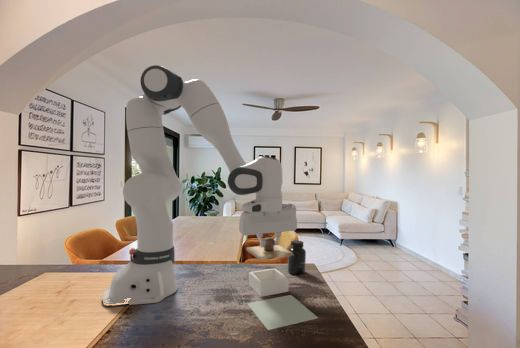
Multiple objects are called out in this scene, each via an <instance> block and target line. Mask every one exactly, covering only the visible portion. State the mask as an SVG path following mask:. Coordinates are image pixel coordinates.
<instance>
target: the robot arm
mask: <svg viewBox="0 0 520 348" xmlns="http://www.w3.org/2000/svg"><path fill="white" fill-rule="evenodd" d="M139 82H140V87H141V90H142V92H143V95H141V96H136V97H133V98H131V99H130V100H129V101H127V103H126V109H125V121H126V122H125V124H126V131H127V137H128V142H129V149H130V155H131V157H132V159H133V160H134V161H135V162H136V164H137V166H138V167H139V168H140V171H141V173H139V174H135V175H134V176H132V177H129V178H128V179H127V180H126V181H125V183H124V184H123V187H122V195H123V198H124V201H125V202H126V203H127V205H129V206H130V207H131V210H132V212H133V215H134V218H135V223H136V232H137V233H136V234H137V235H136V236H137V238H136V240H137V242H136V245H137V246H136V248H135V247H131V248H130V249H129V253H128V254H129V255H130V257H129V259H130V261H129V262H128V263H127V264H125V265H124V266H123V267H121V268H120V269H119V270H118V271H116V273H115V274H114V275H113V277H112V279H111V282H110V286H109V287H107V288H106V289H105V290H104V292H103V294H102V295H101V300H102V299H103V301H104V300H105V299H107V300H108V299H110V300H108V301H104V303H106V304H116V303H124V302H125V300H124V299H127V298H131V299H130V300H129V301H128V303H129V305H128V306H134V305H143V304H154V303H155V304H156V303H160V302H162V301H163V300H164V299H166V297H169V296H171V295H173V294H174V293H176V292H177V291H178V289H179V285H178V283H177V278H176V273H175V264H174V263H175V260H176V254H175V253H176V249H175V246H174V223H173V221H172V220H171V218H170V216H169V212H168V209H167V204H169V203H171V202H174V201H175V200H176V199H177V198H178V197H179V196H180V195H181V193H182V189H183V184H182V181H181V180H180V178H179V177H178V176H177V174H176V171H175V169H174V166H173V163H172V161H171V158H170V155H169V152H168V147H167V141H166V138H165V131H164V126H163V118H162V116H163V115H165V116H166V115H167V114H170V113H172V112H174V111H175V112H176V111H177V110H179V109H181V108H183V109H184V110H185V112H186V114H187V116H188V118H189V119H190V121H191V124H192V125H193V127H194V128H195V129H196V131H197V132H198V133H199V134H200V135H201V137H202V138H204V139H205V140H206V141H207V142H208V143H210V144H211V145H212V146H213V147H214V148H215V149H216V150H217V151H218V153H219V154H220V156H221V158H222V160H223V161H224V163H225V165H226V167H227V168H228V171H229V174H228V176H227V184H228V188H229V189H230V191H231V192H232V193H234V194H236V195H238V196H247V195H250V194H255V199H252V200H251V201H247V202H245V203H242V205H241V209H242V210H243V211H242V212H241V213H240V216H239V223H238V224H239V226H238V227H239V228H238V231H239V233H240V234H241V235H243V236H255V235H256V238H257V239H258V241H259V246H260V247H266V245H265V244H266V242H265V241H264V240H263V237H264V235H265V234H275V237H273V238H274V246H276V245H279V240H280V238H281V237H282V233H287V232H294V231H296V230H297V229H298V221H297V220H298V219H297V207H296V206H295V204H293V203H283V193H282V185H283V168H282V163H281V162H280V160H279V159H277V158H276V157H272V156H266V155H262V156H258V157H257V158H255V159H254V160H252V161H251V162H247V163H246V162H245V160H244V159H243V157H242V155H241V154H240V152H239V150H238V148H237V146H236V144H235V143H234V139H233V138H232V135H231V131H230V126H229V123H228V120H227V117H226V114H225V112H224V110H223V107H222V105H221V104H220V101H219V100H218V99H217V97H216V95H215V93H213V91H212V89H210V87H209V86H208V85H207V83H206V82H205V81H203V80H201V79H198V78H197V79H191V80H188V81H185V82H184V81H183V78H182V77H181V76H179V75H178V74H176V73H175V72H174V71H172V70H171V69H168V68H166V67H165V66H161V65H156V64H155V65H150V66H148V67H146V68H145V69H144V71H143V72H142V73H141V76H140V81H139ZM109 288H110V290H108V289H109ZM126 302H127V301H126Z"/></svg>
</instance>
